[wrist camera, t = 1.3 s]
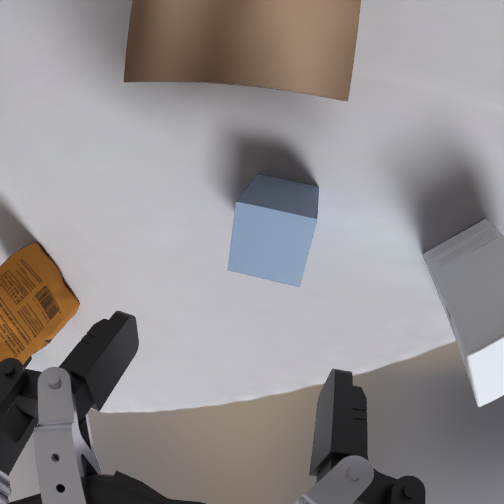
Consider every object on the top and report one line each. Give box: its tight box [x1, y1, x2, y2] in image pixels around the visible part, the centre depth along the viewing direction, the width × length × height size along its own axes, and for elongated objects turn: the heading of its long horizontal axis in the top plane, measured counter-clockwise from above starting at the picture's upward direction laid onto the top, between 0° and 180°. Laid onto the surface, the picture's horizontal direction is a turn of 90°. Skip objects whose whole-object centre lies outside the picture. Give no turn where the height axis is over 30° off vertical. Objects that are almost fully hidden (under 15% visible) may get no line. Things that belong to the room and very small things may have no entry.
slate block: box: [228, 174, 319, 287], centre depth 23 cm, size 5×5×7 cm
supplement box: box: [423, 219, 504, 407], centre depth 19 cm, size 7×7×13 cm
